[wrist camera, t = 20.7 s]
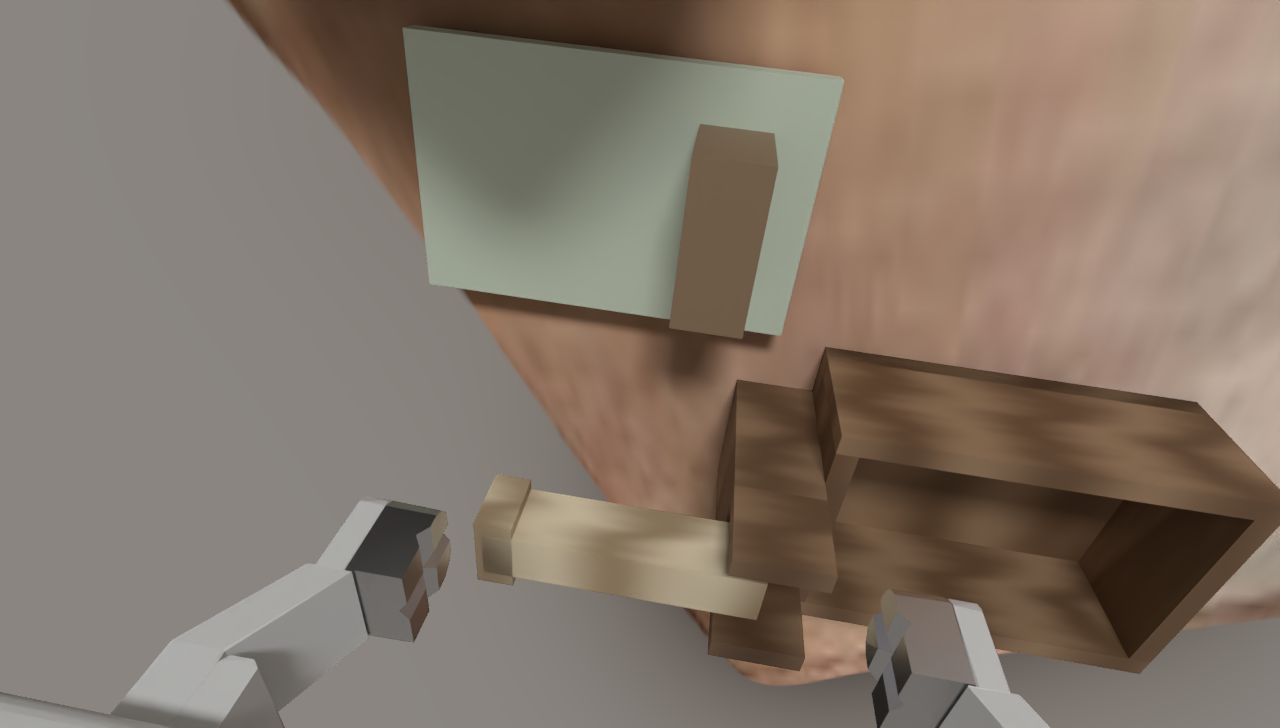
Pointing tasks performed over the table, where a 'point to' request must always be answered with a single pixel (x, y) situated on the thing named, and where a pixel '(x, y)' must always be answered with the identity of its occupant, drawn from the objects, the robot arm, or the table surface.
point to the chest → (981, 508)
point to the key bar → (609, 549)
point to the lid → (616, 176)
